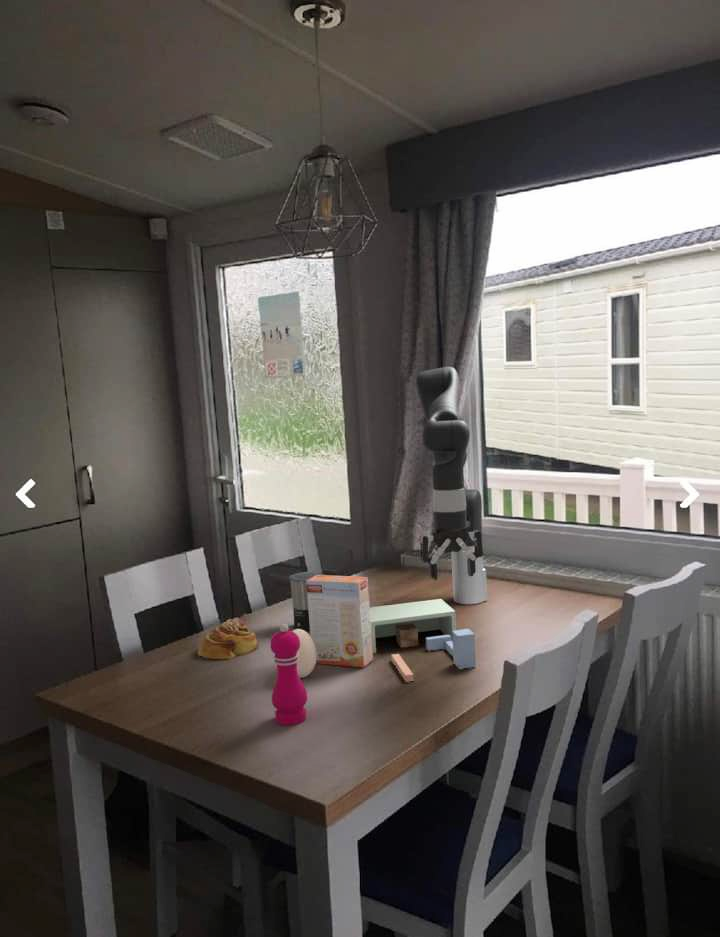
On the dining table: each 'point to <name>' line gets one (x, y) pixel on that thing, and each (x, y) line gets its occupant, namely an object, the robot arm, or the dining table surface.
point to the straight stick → (402, 667)
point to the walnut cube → (407, 635)
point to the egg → (305, 653)
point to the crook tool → (456, 646)
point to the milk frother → (301, 599)
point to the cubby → (412, 618)
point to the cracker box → (340, 620)
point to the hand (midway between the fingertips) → (452, 577)
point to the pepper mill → (287, 679)
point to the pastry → (228, 641)
